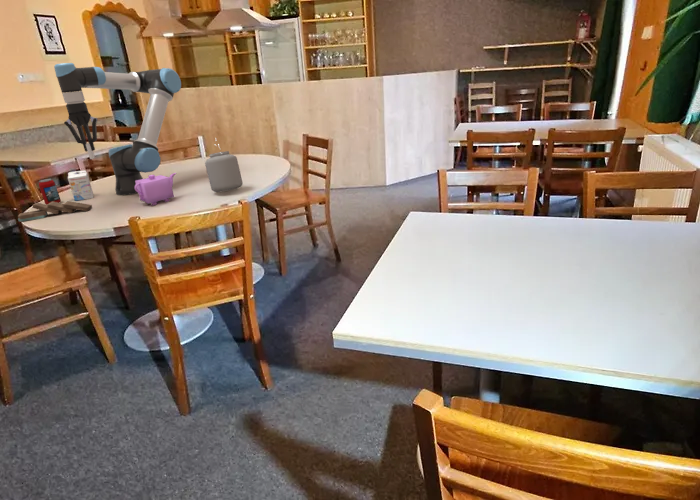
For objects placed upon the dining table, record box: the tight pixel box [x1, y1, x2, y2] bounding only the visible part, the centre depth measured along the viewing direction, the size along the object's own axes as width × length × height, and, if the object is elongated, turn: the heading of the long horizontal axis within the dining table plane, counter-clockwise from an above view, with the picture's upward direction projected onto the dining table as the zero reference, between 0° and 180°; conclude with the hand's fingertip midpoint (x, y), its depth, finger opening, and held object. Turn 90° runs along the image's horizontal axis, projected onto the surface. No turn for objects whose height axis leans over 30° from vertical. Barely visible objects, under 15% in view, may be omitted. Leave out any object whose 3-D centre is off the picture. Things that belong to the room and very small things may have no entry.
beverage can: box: [38, 178, 62, 205], centre depth 220 cm, size 7×7×12 cm
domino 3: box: [31, 202, 63, 215], centre depth 202 cm, size 2×5×10 cm
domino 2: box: [17, 213, 49, 223], centre depth 201 cm, size 2×5×10 cm
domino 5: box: [62, 200, 93, 212], centre depth 205 cm, size 2×5×10 cm
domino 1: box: [17, 209, 48, 220], centre depth 200 cm, size 2×5×10 cm
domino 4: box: [47, 201, 77, 214], centre depth 204 cm, size 2×5×10 cm
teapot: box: [135, 172, 177, 206], centre depth 208 cm, size 20×10×12 cm, turn 134°
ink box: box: [67, 170, 94, 202], centre depth 227 cm, size 9×8×13 cm
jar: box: [204, 137, 244, 193], centre depth 212 cm, size 19×15×25 cm
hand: (92, 158), depth 200 cm, fingers closed
